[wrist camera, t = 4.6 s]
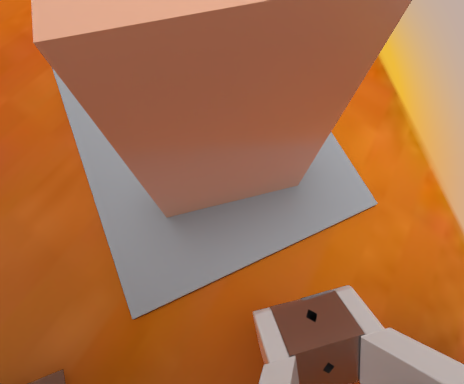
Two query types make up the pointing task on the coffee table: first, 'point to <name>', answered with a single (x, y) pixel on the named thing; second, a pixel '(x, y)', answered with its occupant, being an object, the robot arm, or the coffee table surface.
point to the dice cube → (51, 379)
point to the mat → (204, 218)
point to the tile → (214, 84)
